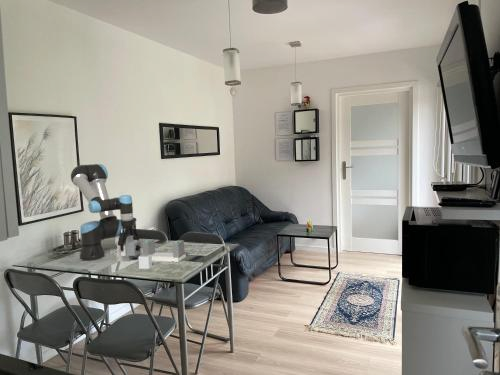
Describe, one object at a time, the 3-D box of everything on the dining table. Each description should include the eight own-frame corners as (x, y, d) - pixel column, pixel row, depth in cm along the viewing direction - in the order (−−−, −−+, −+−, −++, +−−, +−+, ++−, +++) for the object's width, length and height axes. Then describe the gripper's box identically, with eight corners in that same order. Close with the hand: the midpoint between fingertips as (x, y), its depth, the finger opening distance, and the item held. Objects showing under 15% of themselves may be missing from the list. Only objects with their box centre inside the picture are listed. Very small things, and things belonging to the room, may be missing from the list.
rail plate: (142, 260, 241) (140, 241, 239) (151, 255, 251) (149, 237, 250) (178, 261, 234) (176, 242, 233) (185, 256, 244) (184, 238, 243)
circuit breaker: (137, 261, 238) (136, 238, 236) (116, 261, 241) (115, 237, 239) (143, 258, 245) (141, 235, 244) (123, 257, 248) (121, 235, 247)
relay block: (139, 268, 223) (138, 256, 222) (142, 266, 228) (141, 253, 227) (149, 268, 222) (148, 255, 222) (152, 266, 227) (151, 253, 227)
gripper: (120, 223, 227) (123, 258, 229) (143, 216, 251) (145, 247, 253) (109, 223, 229) (112, 258, 231) (133, 216, 253) (135, 247, 255)
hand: (129, 252), depth 242 cm, fingers open, 13 cm apart
